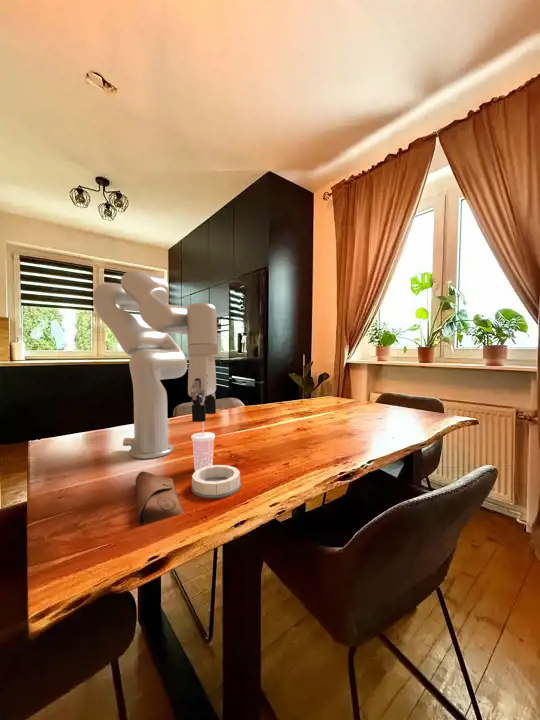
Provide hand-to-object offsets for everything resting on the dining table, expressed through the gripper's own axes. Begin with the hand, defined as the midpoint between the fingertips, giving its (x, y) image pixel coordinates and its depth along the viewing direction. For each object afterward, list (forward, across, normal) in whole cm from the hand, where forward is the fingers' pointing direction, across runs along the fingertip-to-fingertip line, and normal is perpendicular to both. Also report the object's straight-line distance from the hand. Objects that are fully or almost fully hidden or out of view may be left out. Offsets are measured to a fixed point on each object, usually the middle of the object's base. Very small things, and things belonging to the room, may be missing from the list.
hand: (204, 417), depth 78 cm
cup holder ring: (+14, +10, +5) cm, 18 cm away
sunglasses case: (+15, +16, -6) cm, 22 cm away
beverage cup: (+14, 0, -1) cm, 14 cm away
